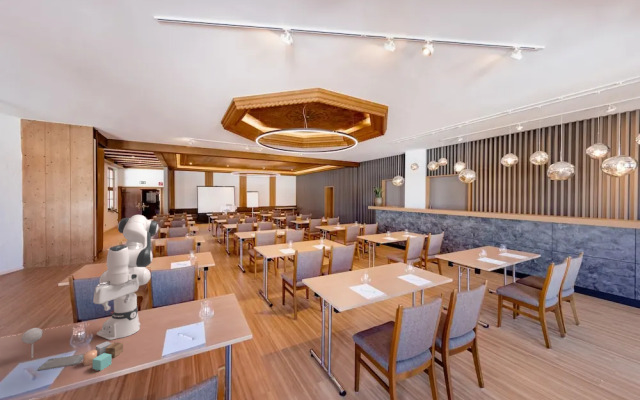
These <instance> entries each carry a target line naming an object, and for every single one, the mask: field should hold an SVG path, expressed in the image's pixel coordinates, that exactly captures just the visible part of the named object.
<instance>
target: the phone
mask: <svg viewBox="0 0 640 400" xmlns="http://www.w3.org/2000/svg"><path fill="white" fill-rule="evenodd" d="M83 360H84V353H81V354H75V355H68V356H62V357H61V356H60V357H53V358H49V359H47V360H46V361H45V362H44V363H42V364H41V365H39V367H37V371H38V372H39V371H40V372H41V371H44V370H45V371H46V370H52V369H53V370H54V369H59V368H65V367H71V366H77V365H79V364H81V363H82V362H83Z"/></svg>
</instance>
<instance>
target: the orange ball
mask: <svg viewBox="0 0 640 400" xmlns="http://www.w3.org/2000/svg"><path fill="white" fill-rule="evenodd" d="M83 354H84V359H83V360H82V362H83V366H84V367H88V366H89V367H90V366H93V359H94V358H96V357H98V356H97V350H96V349H91V350H88V351H85V353H83Z"/></svg>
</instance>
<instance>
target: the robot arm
mask: <svg viewBox="0 0 640 400" xmlns="http://www.w3.org/2000/svg"><path fill="white" fill-rule="evenodd" d="M158 223H159V222H158V221H156V220H153V219H152V220H151V219H148V218H147V217H146V216H144V215H142V214H134V215H132V216H131V217H124V218H121V219H120V220H119V222H118V225H117V231H118V233H120V234H122V235H123V237H124V239H126V242H125V244H124V245H123V244H119V245H118V244H117V245H114V246H111V247H109V249H108V251H107V255H106V256H107V257H106V269H107V270H106V271H104V272H103V273H101V275H100V277H99V283H98V285H96V286H95V288H94V293H93V301H92V302H93V304H94V305H102V306H103V307H104V311H105V312H107V311H109V310H111V305H109V302H110V301H112V300H113V311H111V312H110V314H111V317H109V318H108V319H107V320H105V321H104V322H103V323H102V326H101V329H100V330H99V331H97V332H96V336H99V337H101V338H104V339H106V340H108V341H113V340H115V339H121V338H122V339H123V338H126V337H129V336H132V335H133V334H136V333H137V332H139V331H140V330H141V327H140V326H141V322H140V319H139V313H138V311H139V309H138V305H137V304H138V303H137V302H138V299H137V298H138V296H137V294H136V293H135V292H137V291H138V290H139V287H140V286H143V285H147V284H148V283H149V282H150V279H151V276H152V274H151V272H150V270H149V269H148V268H147V267H148V266H149V265H151V264H152V262H153V251H152V237H153V236H155V235H156V234H157V233H158V231H159V224H158Z"/></svg>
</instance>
